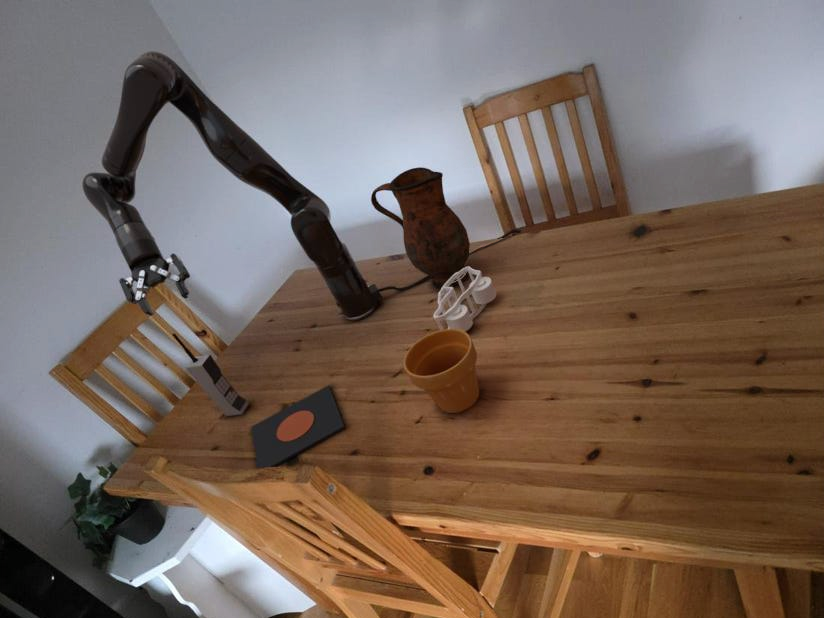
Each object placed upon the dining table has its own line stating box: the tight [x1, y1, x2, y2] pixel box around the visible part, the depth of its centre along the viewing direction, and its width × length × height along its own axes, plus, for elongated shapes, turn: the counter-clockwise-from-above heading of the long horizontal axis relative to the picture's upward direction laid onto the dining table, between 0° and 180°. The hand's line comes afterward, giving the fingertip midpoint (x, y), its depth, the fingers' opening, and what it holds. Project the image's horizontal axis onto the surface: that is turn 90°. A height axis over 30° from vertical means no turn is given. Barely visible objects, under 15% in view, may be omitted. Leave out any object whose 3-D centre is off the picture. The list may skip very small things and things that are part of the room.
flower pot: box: [403, 328, 480, 414], centre depth 120 cm, size 14×14×13 cm
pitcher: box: [370, 166, 471, 290], centre depth 154 cm, size 17×21×30 cm
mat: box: [251, 384, 346, 469], centre depth 133 cm, size 20×17×1 cm
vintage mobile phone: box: [171, 332, 250, 417], centre depth 139 cm, size 4×5×25 cm
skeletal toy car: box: [433, 265, 497, 332], centre depth 144 cm, size 20×11×7 cm, turn 147°
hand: (168, 305), depth 137 cm, fingers open, 8 cm apart
